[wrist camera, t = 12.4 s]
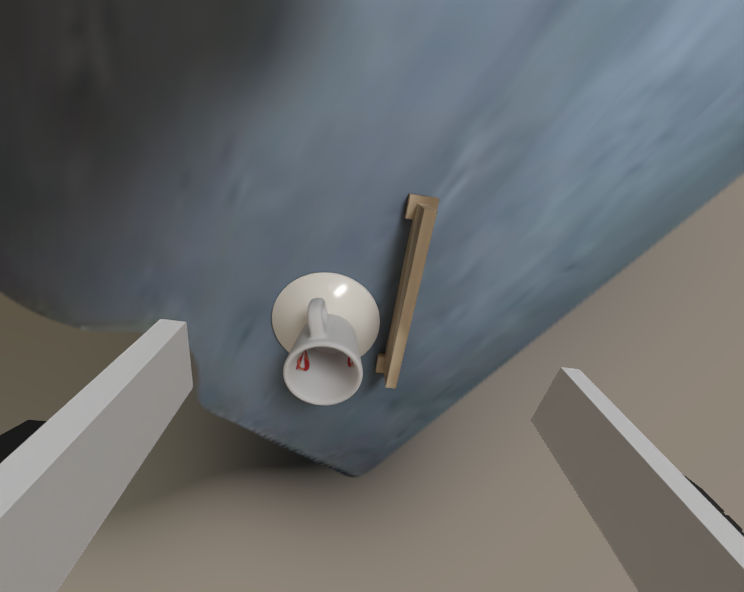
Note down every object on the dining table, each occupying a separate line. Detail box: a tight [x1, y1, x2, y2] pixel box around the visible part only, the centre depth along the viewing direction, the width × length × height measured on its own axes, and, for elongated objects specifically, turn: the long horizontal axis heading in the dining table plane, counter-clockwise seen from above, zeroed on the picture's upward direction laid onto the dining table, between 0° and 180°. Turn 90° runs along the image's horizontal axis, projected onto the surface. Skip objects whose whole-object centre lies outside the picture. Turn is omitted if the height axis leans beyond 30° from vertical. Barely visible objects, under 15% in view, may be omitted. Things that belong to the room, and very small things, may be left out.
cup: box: [283, 298, 363, 405], centre depth 34 cm, size 11×8×8 cm
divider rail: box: [375, 193, 439, 388], centre depth 34 cm, size 3×22×4 cm, turn 171°
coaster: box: [272, 272, 380, 357], centre depth 37 cm, size 13×13×1 cm
